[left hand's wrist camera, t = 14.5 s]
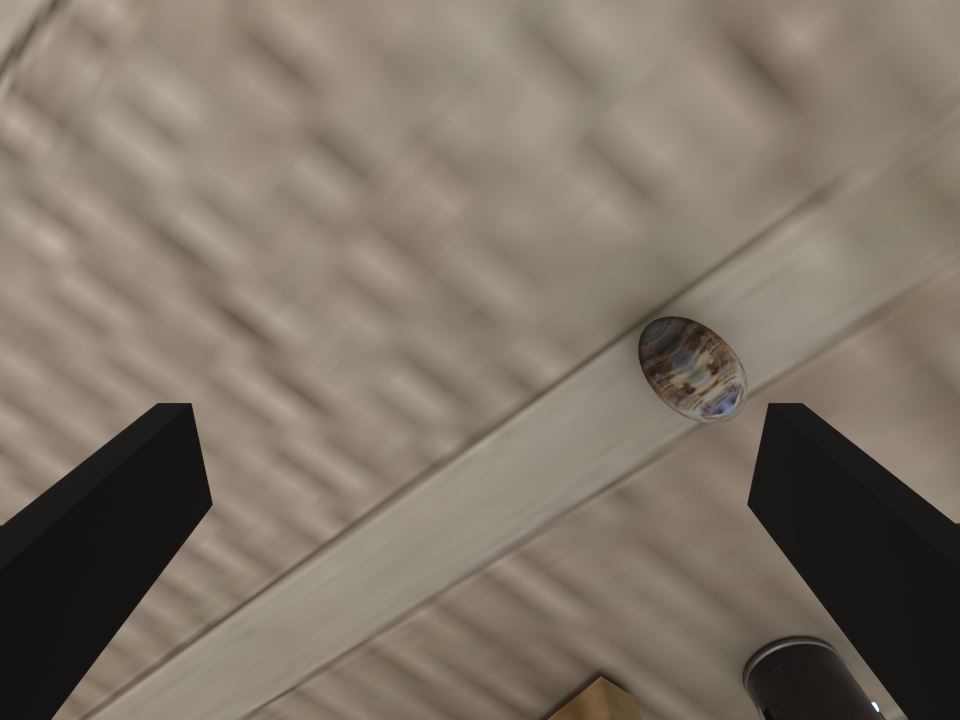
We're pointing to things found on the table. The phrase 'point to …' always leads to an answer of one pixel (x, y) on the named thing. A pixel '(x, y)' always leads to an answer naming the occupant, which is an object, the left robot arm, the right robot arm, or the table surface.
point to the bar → (600, 704)
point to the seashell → (692, 370)
